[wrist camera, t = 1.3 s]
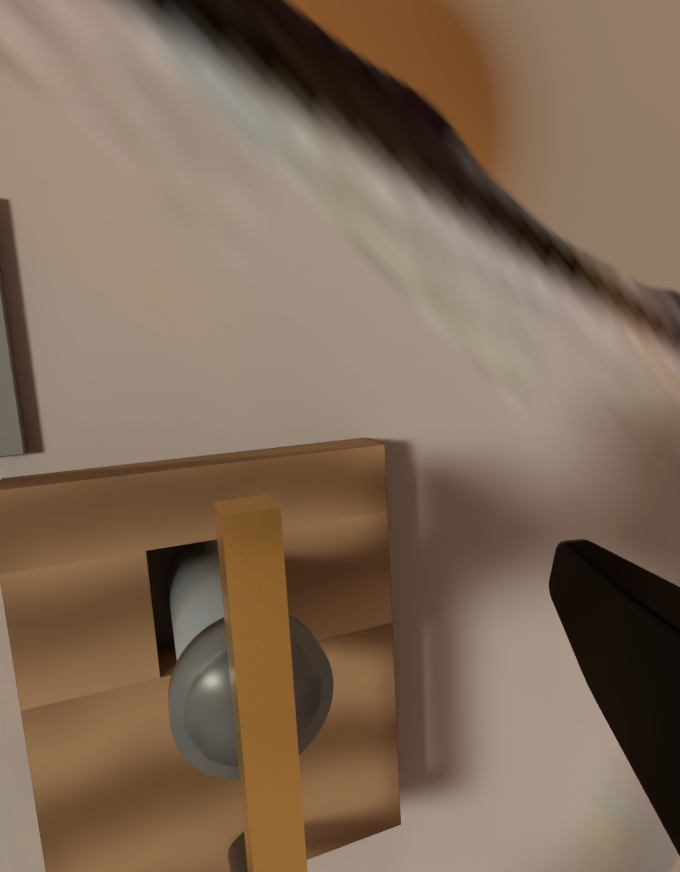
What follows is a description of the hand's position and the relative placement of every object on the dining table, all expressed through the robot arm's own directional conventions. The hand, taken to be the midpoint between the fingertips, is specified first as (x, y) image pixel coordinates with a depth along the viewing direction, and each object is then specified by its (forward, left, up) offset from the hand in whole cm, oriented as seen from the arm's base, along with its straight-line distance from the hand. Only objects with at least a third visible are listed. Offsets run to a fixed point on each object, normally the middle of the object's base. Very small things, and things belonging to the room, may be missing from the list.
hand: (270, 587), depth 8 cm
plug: (-7, -1, -18) cm, 19 cm away
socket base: (-11, -1, -18) cm, 21 cm away
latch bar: (-10, -1, -15) cm, 18 cm away
